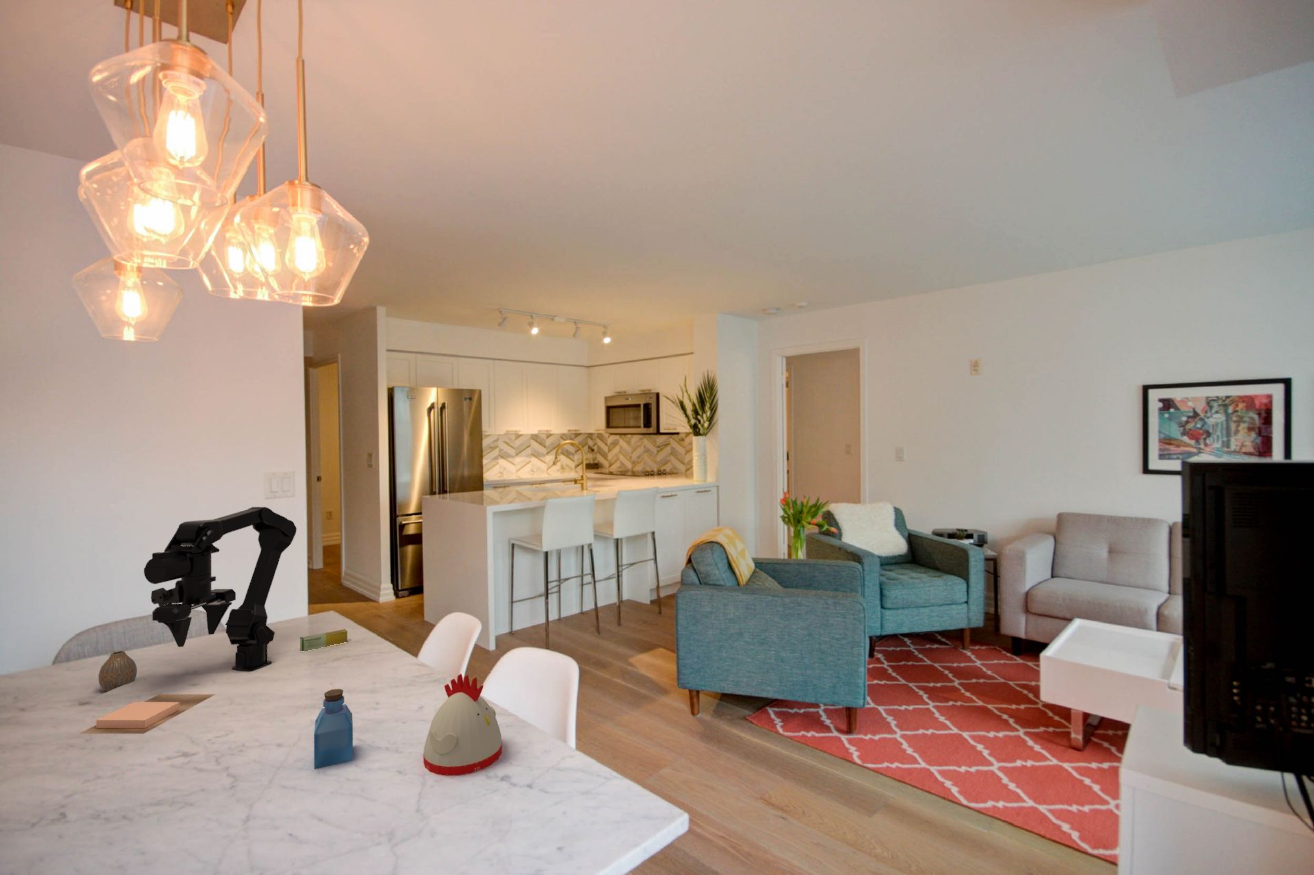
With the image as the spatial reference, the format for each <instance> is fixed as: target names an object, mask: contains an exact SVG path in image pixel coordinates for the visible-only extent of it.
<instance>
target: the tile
mask: <svg viewBox="0 0 1314 875" xmlns="http://www.w3.org/2000/svg"><path fill="white" fill-rule="evenodd" d="M178 710H179V702H145V701H133V702H131V703H130V704H127V705H124V706H123V707H120V708H118V709H117V710H116V709H115V711H112V712H110V713H108V714H106V715H104V716H102V717H99V718H98V719H96V722H95V723H96V724H95V725H96V728H146V727H148V726H150V725H152V724H154V723H156V722H158V721H159V720H161V719H163V718H165V717H167V716H169V715H171V714H172V713H174V712H176V711H178Z"/></svg>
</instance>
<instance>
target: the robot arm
mask: <svg viewBox="0 0 1314 875" xmlns="http://www.w3.org/2000/svg"><path fill="white" fill-rule="evenodd" d="M251 526H252V529H253V530H255V532H257V533H258V538H257V541H258V545H259V548H260V552H259V555H258V558H257V560H256V564H255V567H254V569H253V573H252V575H251V579H250V582H249V585H248V588H247V590H246V593H245V596H244V599H243V602H242V604H241V605H239V607H238V608H231V610H230V611H229V615H228V617H227V618H228V619H227V621H226V623H225V624H224V626H226V627H225V633H226V634H227V637H228V640H229V642H230V645H231V646H232V645H234V646H235V645H236V652H235V659H234V660H235V662H234V663H235V665H233V666H232V667H231V668H232V670H237V671H246V672H252V671H255V670H257V669H260V668H262V667H265V666H269V665H270V664H272V663H273V661H272V660H268V644H270V643H271V642H273V640H274V638H275V633H276V632H275V631H274V630H273V629H272V628H270V627H269V626H268V625H267V622H268V617H269V616H268V613H267V611H266V607H265V606H266V603H267V600H268V596H269V593H270V590H271V587H272V584H273V581H274V578H275V574H276V572H277V569H278V566H279V562H280V559H281V556H282V553H284V551H285V550H287V549H288V548H289V547H290V545H291V544H292V542H293V541H294V539H295V536H296V534H297V526H296V525H295V523H294V521H292V520H290V519H288V518H287V517H285V516H283V515H280V514H279V513H277V512H275V511H273V510H272V509H271V508H269V507H266V506H251V507H249V508H248V509H247V508H246V509H245V510H242V511H237V512H235V513H231V514H228V515H224V516H220V517H217V518H213V519H203V520H199V519H198V520H190V521H188V520H187V521H183V522H181V523H180V524H179V525H178V528H176V531H175V533H174V534H173V536H172V538H171V539H170V541H169V542H168V544H167V545H166V547H165V549H164V550H163V552H162V551H161V552H160V551H158V552H157V551H156V552H153V553H152V554H151V559H149V560H148V561H147V562H146V564H145V566H144V569H143V575H144V577H145V579H146V580H147V581H148V583H151V584H153V585H157V584H161V583H166V582H171V581H176V582H175V585H174V587H173V588H170V589H166V588H165V587H160V588H156V589H153V590H151V595H150V600H151V603H152V604H153V605H158V606H157V607H155V608H154V609H153V610H152V612H151V614H152V615H151V616H152V618H151V620H152V622H154V621H156V622H157V623H159V624H163V625H165V626H166V627H167V628H168V629H169V631H170V633H171V634H172V638H174V641H175V643H176V645H177V647H179V648H183V647H185V644H186V640H187V639H188V638H187V637H188V633H189V631H190V625H191V623H192V616H190V615H191V613H192V610H195V609H198V608H202V609H203V610H204V612H205V613H206V625H207V626H206V627H207V632H208V635H214V634H215V633H216V630H217V629H218V627H219V625H220V623H221V621H222V619H223V618H224V616H225V614H226V612H227V611H228V609H229V607H230V606H231V605H232V604H233V602H234V601H236V596H237V594H236V591H235V590H234V589H233V588H214V589H212V582H216V581H217V576H212V554H216V553H219V552H220V548H219V547H217V546H215V545H214V543H216V542H217V541H220V540H221V539H222V537H223V536H224V535H225V536H226V535H227V534H229V533H232V532H233V533H234V532H235V531H236V532H237V531H238V530H242V529H245V528H248V527H251ZM179 579H180V580H179Z"/></svg>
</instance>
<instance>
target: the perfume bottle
mask: <svg viewBox="0 0 1314 875" xmlns="http://www.w3.org/2000/svg"><path fill="white" fill-rule="evenodd" d="M343 693H344V690H343V689H341V688H334V689H330V690H327V691H326V692H324V693H323V697H324V699H323V702H322V706H323V708H321V709H320V711H319V713H318V715H317V717H316V719H315V723H314V730H313V731H314V732H313V733H314V734H313V756H314V757H313V760H314V761H313V769H314V770H317V769H321V768H326V767H330V766H335V765H340V764H345V763H349V762H354V761H353V760H354V741H353V740H354V738H353V736H354V735H353V734H354V731H353V730H354V729H353V728H354V727H353V726H354V725H353V724H354V723H353V721H354V720H353V712H352V711H351V710H350V708H349V707H348V705H347V704H346V703H345V696H344V695H343ZM344 703H345V704H344Z"/></svg>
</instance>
